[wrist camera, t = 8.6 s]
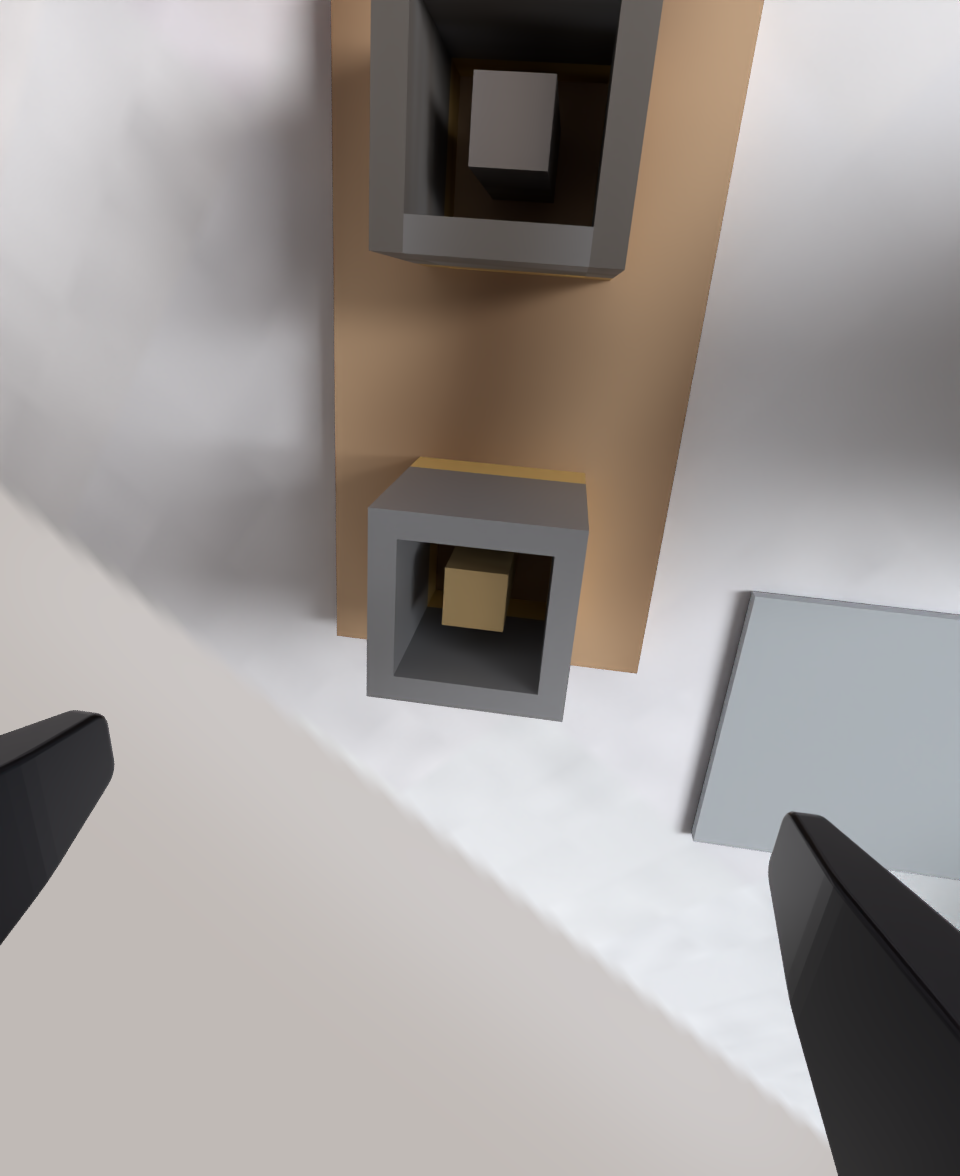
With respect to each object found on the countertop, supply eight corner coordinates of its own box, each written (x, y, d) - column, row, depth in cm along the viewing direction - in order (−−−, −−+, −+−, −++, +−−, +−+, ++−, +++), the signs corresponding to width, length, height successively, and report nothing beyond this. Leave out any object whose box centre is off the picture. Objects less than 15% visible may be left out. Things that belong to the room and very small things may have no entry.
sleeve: (564, 623, 19) (562, 721, 15) (414, 606, 20) (366, 695, 15) (585, 472, 18) (589, 531, 13) (419, 456, 18) (367, 507, 14)
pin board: (753, 0, 15) (868, -194, 9) (633, 654, 21) (656, 784, 15) (347, -15, 15) (215, -204, 10) (349, 619, 22) (269, 729, 16)
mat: (1083, 629, 19) (1094, 635, 18) (968, 873, 22) (975, 882, 22) (751, 591, 20) (755, 596, 19) (691, 832, 23) (693, 841, 23)
